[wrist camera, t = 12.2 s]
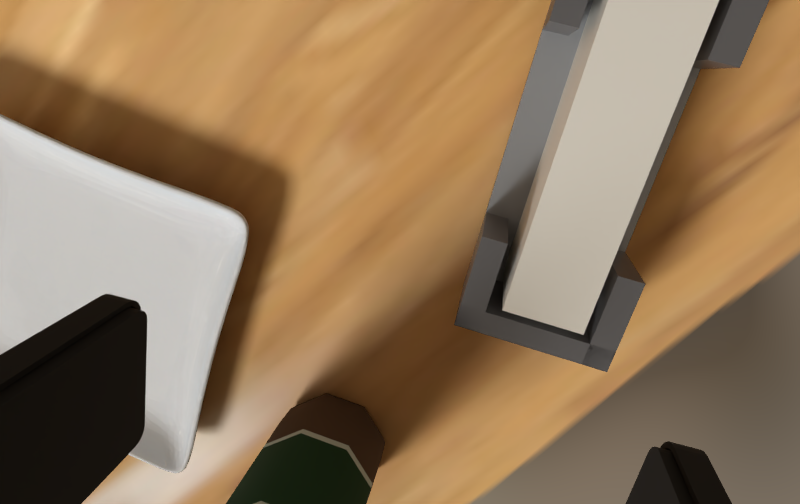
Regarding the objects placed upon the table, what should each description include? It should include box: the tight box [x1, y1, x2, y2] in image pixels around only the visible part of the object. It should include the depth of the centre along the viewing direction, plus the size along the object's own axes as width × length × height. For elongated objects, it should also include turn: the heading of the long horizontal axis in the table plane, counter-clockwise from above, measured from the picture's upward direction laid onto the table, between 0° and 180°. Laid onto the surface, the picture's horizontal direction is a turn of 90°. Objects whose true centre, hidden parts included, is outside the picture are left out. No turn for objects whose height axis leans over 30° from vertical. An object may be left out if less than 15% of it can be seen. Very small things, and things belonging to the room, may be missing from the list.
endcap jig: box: [454, 0, 769, 372], centre depth 27 cm, size 20×8×6 cm, turn 167°
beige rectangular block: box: [502, 0, 719, 335], centre depth 27 cm, size 16×4×6 cm, turn 167°
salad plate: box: [0, 114, 249, 473], centre depth 38 cm, size 21×21×3 cm
